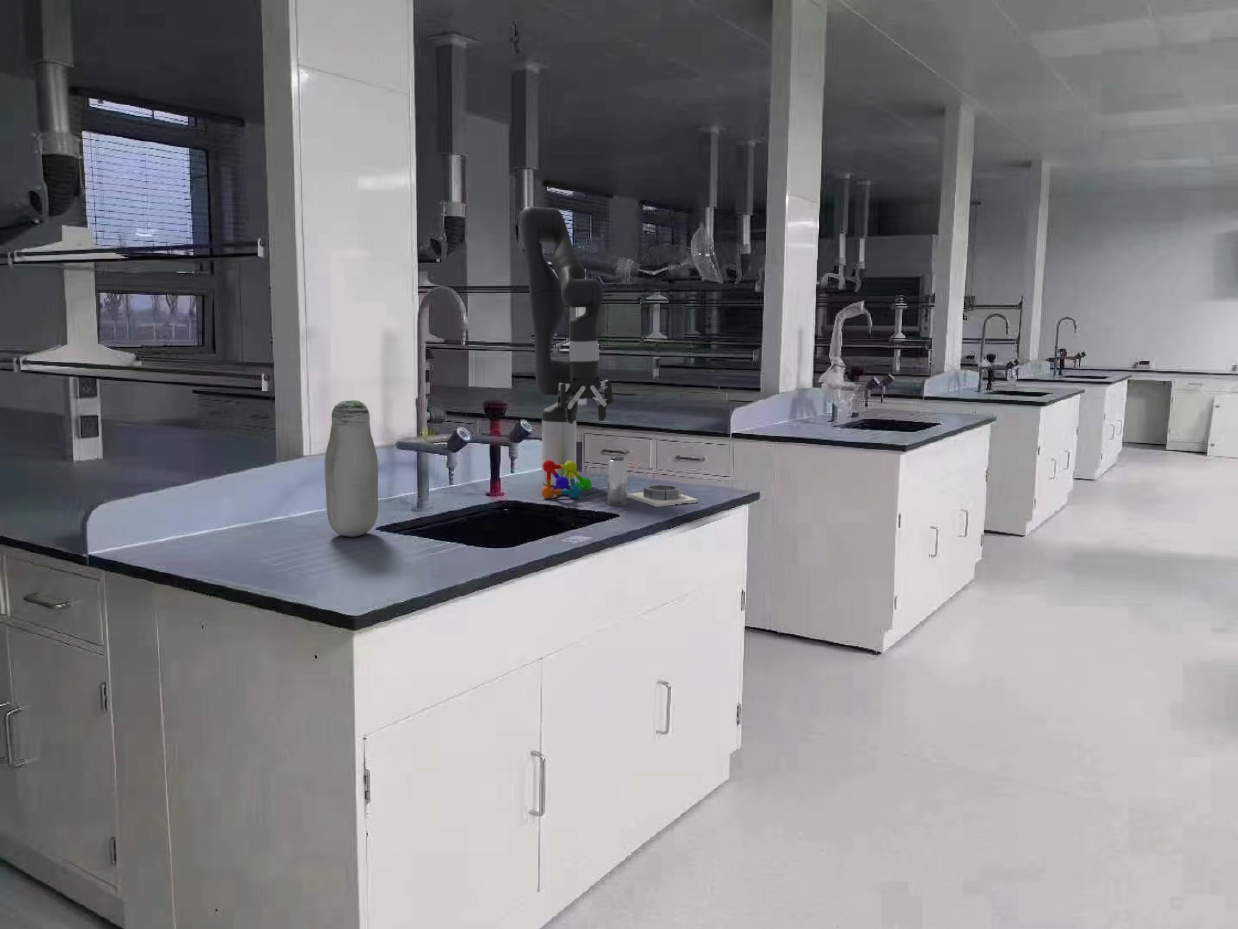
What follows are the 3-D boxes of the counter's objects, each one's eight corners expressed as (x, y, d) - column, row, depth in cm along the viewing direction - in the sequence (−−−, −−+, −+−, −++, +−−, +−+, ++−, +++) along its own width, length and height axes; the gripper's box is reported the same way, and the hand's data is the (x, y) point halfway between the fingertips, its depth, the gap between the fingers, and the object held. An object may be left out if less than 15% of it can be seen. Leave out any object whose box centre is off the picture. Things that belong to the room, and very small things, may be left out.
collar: (638, 494, 244) (638, 486, 244) (667, 492, 249) (667, 483, 248) (656, 501, 237) (656, 492, 237) (686, 498, 241) (686, 489, 241)
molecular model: (592, 514, 244) (558, 484, 234) (560, 517, 250) (525, 488, 239) (601, 475, 250) (569, 444, 239) (569, 479, 255) (536, 449, 245)
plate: (627, 496, 246) (627, 493, 246) (667, 492, 252) (667, 489, 252) (656, 506, 234) (656, 503, 234) (697, 502, 240) (697, 499, 240)
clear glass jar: (604, 503, 237) (604, 456, 236) (620, 501, 240) (620, 455, 238) (613, 506, 233) (613, 459, 232) (629, 505, 236) (630, 457, 234)
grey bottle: (357, 542, 195) (353, 403, 190) (317, 537, 199) (312, 401, 195) (388, 532, 204) (385, 399, 199) (350, 527, 208) (345, 397, 203)
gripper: (604, 356, 253) (605, 418, 256) (552, 359, 247) (554, 422, 250) (615, 358, 246) (617, 421, 249) (562, 361, 240) (564, 426, 243)
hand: (585, 421), depth 250 cm, fingers open, 8 cm apart
